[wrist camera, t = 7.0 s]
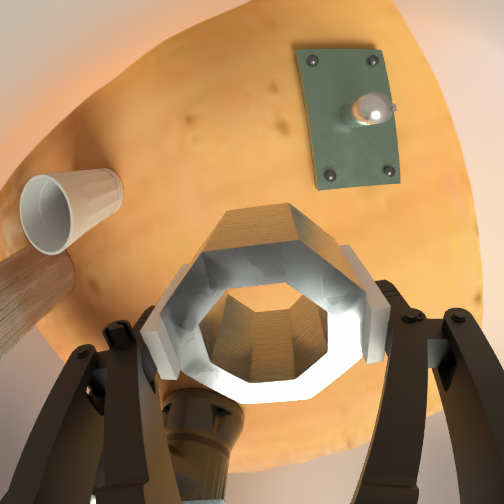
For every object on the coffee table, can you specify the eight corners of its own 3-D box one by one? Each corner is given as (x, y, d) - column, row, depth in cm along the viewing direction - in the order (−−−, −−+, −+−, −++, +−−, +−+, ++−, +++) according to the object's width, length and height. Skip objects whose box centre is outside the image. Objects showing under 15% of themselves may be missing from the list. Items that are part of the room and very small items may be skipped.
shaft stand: (315, 188, 31) (332, 204, 23) (295, 54, 26) (304, 23, 18) (395, 181, 30) (433, 195, 22) (377, 53, 25) (409, 29, 17)
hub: (214, 334, 18) (196, 403, 13) (185, 217, 16) (142, 259, 10) (336, 322, 18) (357, 391, 12) (331, 197, 15) (366, 231, 9)
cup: (110, 149, 31) (48, 157, 20) (140, 202, 33) (86, 230, 22) (71, 183, 33) (10, 203, 21) (98, 232, 35) (44, 267, 24)
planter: (82, 259, 36) (-26, 349, 15) (69, 305, 40) (-13, 395, 19) (38, 225, 35) (-72, 289, 14) (29, 273, 38) (-58, 343, 17)
